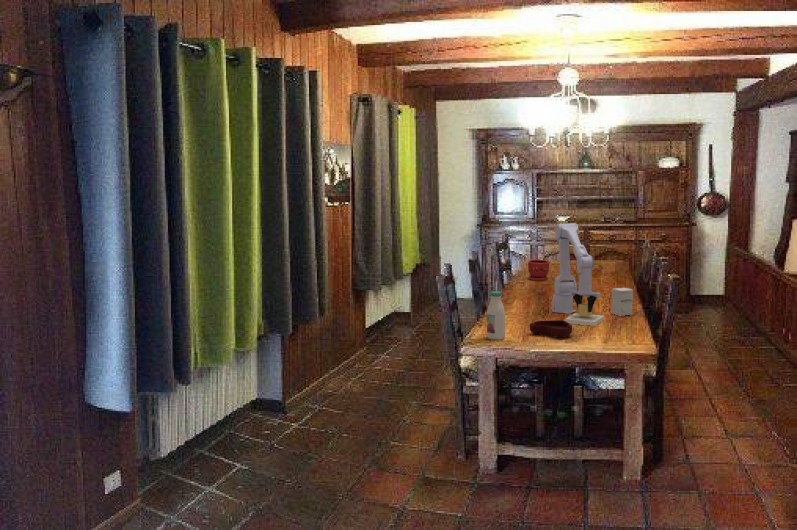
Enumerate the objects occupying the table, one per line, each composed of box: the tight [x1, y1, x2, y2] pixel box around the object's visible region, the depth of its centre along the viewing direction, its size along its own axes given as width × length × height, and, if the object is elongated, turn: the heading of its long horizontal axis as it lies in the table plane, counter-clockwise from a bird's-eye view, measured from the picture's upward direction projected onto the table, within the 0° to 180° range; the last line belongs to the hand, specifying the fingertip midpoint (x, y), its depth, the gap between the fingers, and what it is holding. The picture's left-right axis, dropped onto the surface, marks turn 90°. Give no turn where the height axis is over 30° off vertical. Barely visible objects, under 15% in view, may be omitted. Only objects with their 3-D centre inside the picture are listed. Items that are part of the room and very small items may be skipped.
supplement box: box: [610, 287, 634, 317], centre depth 346 cm, size 7×7×13 cm
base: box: [564, 312, 605, 327], centre depth 334 cm, size 14×14×2 cm
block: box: [577, 302, 593, 317], centre depth 333 cm, size 5×5×5 cm
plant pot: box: [527, 259, 550, 282], centre depth 453 cm, size 13×13×12 cm
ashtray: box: [529, 319, 573, 339], centre depth 312 cm, size 18×16×5 cm
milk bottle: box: [486, 290, 506, 341], centre depth 306 cm, size 8×8×20 cm
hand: (584, 311), depth 333 cm, fingers closed on block, 5 cm apart
